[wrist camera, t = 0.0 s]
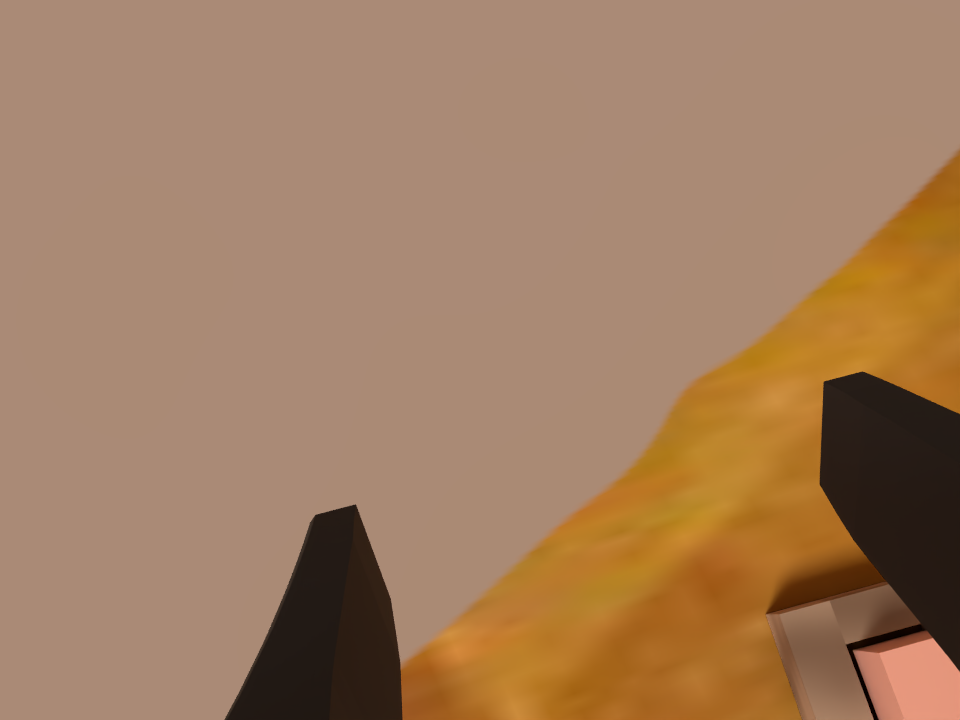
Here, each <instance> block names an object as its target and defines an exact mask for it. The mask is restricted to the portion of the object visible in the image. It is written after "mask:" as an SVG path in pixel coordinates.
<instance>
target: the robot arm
mask: <svg viewBox="0 0 960 720" xmlns="http://www.w3.org/2000/svg"><path fill="white" fill-rule="evenodd" d="M820 486H821V487H822V489H823V491H824V492H825V494H826V496H827V498H828V499H829V501H830V503H831V504H832V506H833V508H834V509H835V511H836V513H837V515H838V516H839V518H840V519H841V521H842V522H843V524H844V526H845V527H846V529H847V530H848V532H849V533H850V535H851V537H852V538H853V540H854V541H855V542H856V544H857V545H858V546H859V548H860V549H861V550H862V551H863V553H864V554H865V555H866V556H867V558H868V559H869V560H870V561H871V563H872V564H873V565H874V566H875V568H876V569H877V570H878V571H879V573H880V574H881V575H882V576H883V578H884V579H885V580H886V581H887V583H888V584H889V585H890V586H891V587H892V589H893V590H894V591H895V592H896V594H897V595H898V596H899V597H900V598H901V600H902V601H903V602H904V603H905V605H906V606H907V607H908V608H909V610H910V611H911V612H912V613H913V614H914V616H915V617H916V618H917V619H918V621H919V622H920V623H921V624H922V625H923V627H924V628H925V629H926V630H927V632H928V633H929V634H930V635H931V636H932V638H933V639H934V640H935V641H936V643H937V644H938V645H939V646H940V647H941V649H942V650H943V651H944V652H945V654H946V655H947V656H948V657H949V658H950V660H951V661H952V662H953V664H954V665H955V666H956V668H957V669H958V670H959V672H960V414H958V413H956V412H954V411H951V410H949V409H947V408H945V407H943V406H940V405H938V404H936V403H934V402H932V401H929V400H927V399H925V398H923V397H921V396H918V395H916V394H914V393H912V392H909V391H907V390H905V389H903V388H901V387H898V386H896V385H894V384H891V383H889V382H887V381H885V380H882V379H880V378H877V377H875V376H872V375H870V374H867V373H865V372H859V373H855V374H851V375H847V376H844V377H840V378H836V379H832V380H828V381H825V382H824V388H823V413H822V438H821V463H820ZM225 720H402V695H401V670H400V658H399V651H398V644H397V637H396V630H395V624H394V617H393V611H392V604H391V598H390V596H389V593H388V590H387V588H386V585H385V582H384V579H383V577H382V574H381V571H380V569H379V566H378V563H377V561H376V558H375V555H374V552H373V550H372V547H371V544H370V542H369V539H368V536H367V533H366V531H365V528H364V526H363V523H362V520H361V518H360V515H359V512H358V509H357V507H356V505H352V506H348V507H344V508H340V509H336V510H333V511H329V512H325V513H321V514H318V515H315V517H314V518H313V519H312V521H311V522H310V525H309V528H308V531H307V534H306V537H305V540H304V543H303V546H302V549H301V552H300V555H299V557H298V560H297V563H296V566H295V568H294V571H293V573H292V576H291V579H290V581H289V584H288V587H287V589H286V591H285V594H284V596H283V599H282V601H281V603H280V606H279V608H278V611H277V613H276V615H275V618H274V620H273V622H272V624H271V627H270V629H269V632H268V634H267V636H266V638H265V640H264V643H263V645H262V647H261V649H260V651H259V653H258V655H257V657H256V659H255V661H254V663H253V665H252V667H251V669H250V671H249V674H248V675H247V677H246V679H245V682H244V684H243V686H242V688H241V690H240V692H239V694H238V696H237V697H236V699H235V701H234V703H233V705H232V707H231V709H230V710H229V712H228V714H227V716H226V718H225Z"/></svg>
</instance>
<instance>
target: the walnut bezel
mask: <svg viewBox="0 0 960 720" xmlns="http://www.w3.org/2000/svg"><path fill="white" fill-rule="evenodd" d="M766 616H767V619H768V622H769V625H770V628H771V631H772V634H773V637H774V639H775V642H776V645H777V648H778V651H779V654H780V657H781V660H782V662H783V665H784V668H785V671H786V674H787V677H788V680H789V683H790V686H791V688H792V691H793V694H794V697H795V700H796V703H797V706H798V709H799V711H800V714H801V717H802V720H874V719H873V716H872V714H871V711H870V708H869V705H868V703H867V700H866V697H865V695H864V692H863V689H862V687H861V684H860V681H859V679H858V676H857V673H856V670H855V668H854V665H853V662H852V660H851V657H850V654H849V652H848V649H847V646H846V644H849V643H853V642H856V641H860V640H863V639H867V638H871V637H874V636H878V635H882V634H885V633H889V632H892V631H896V630H900V629H903V628H907V627H910V626H914V625H918V624H920V625H921V627H922V630H923V631H924V630H926V629H925V628H924V627H923V625H922V624H921V623H920V622H919V621H918V619H917V618H916V617H915V616H914V614H913V613H912V612H911V611H910V610H909V608H908V607H907V606H906V605H905V603H904V602H903V601H902V600H901V598H900V597H899V596H898V595H897V594H896V592H895V591H894V590H893V589H892V587H891V586H890V585H889V584H888V583H887V581H886V582H882V583H878V584H875V585H871V586H867V587H864V588H860V589H856V590H853V591H849V592H846V593H842V594H838V595H835V596H831V597H827V598H824V599H820V600H816V601H813V602H809V603H805V604H802V605H798V606H794V607H791V608H787V609H783V610H780V611H776V612H772V613H769V614H766Z"/></svg>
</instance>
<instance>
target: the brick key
mask: <svg viewBox="0 0 960 720" xmlns="http://www.w3.org/2000/svg"><path fill="white" fill-rule="evenodd" d="M853 652H854V655H855V658H856V661H857V663H858V666H859V669H860V671H861V674H862V677H863V679H864V682H865V685H866V687H867V690H868V693H869V695H870V698H871V701H872V703H873V706H874V709H875V711H876V714H877V717H878V719H879V720H960V672H959V670H958V669H957V668H956V666H955V665H954V664H953V662H952V661H951V660H950V658H949V657H948V656H947V655H946V654H945V652H944V651H943V650H942V649H941V647H940V646H939V645H938V644H937V643H936V641H935V640H934V639H933V638H932V636H931V635H930V634H929V633H928V632H927V630H924V631H920V632H917V633H913V634H910V635H906V636H902V637H899V638H895V639H891V640H888V641H884V642H881V643H877V644H873V645H870V646H866V647H863V648H859V649H855V650H853Z"/></svg>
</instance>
